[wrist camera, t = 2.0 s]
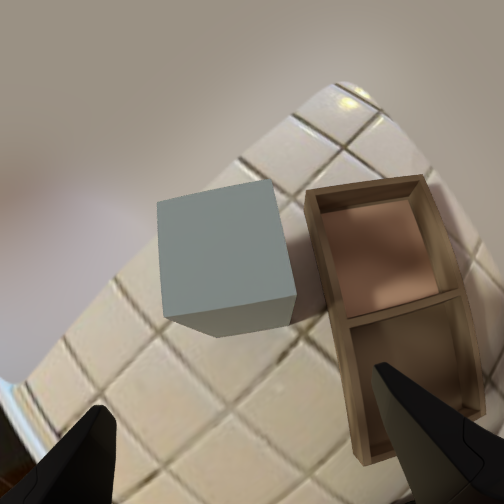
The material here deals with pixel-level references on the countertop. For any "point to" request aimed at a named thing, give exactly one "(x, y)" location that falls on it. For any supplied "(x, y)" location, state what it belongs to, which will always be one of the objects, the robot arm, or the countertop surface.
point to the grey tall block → (225, 261)
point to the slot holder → (393, 300)
